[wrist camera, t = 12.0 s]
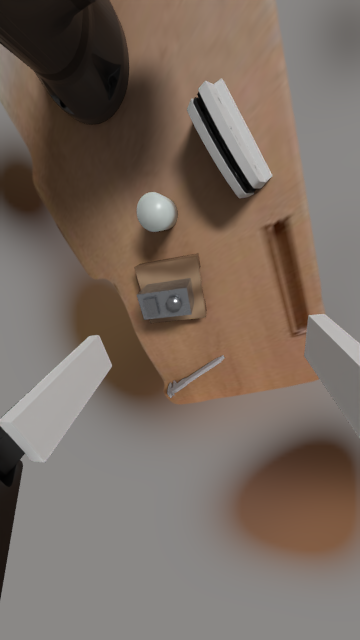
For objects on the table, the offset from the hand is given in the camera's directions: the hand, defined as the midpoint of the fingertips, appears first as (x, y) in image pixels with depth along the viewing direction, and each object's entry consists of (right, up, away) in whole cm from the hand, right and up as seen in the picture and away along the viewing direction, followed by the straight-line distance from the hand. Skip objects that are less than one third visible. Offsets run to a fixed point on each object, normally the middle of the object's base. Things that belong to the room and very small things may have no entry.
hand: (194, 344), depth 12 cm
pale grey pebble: (-4, +24, +28) cm, 37 cm away
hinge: (+8, +32, +22) cm, 40 cm away
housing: (-3, +8, +32) cm, 33 cm away
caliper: (+4, -14, +47) cm, 49 cm away
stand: (-2, +10, +35) cm, 36 cm away
